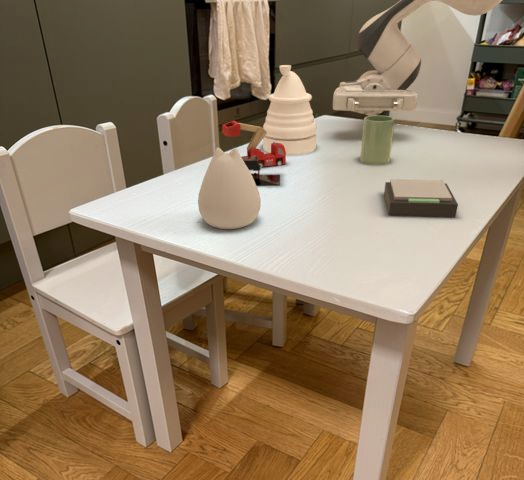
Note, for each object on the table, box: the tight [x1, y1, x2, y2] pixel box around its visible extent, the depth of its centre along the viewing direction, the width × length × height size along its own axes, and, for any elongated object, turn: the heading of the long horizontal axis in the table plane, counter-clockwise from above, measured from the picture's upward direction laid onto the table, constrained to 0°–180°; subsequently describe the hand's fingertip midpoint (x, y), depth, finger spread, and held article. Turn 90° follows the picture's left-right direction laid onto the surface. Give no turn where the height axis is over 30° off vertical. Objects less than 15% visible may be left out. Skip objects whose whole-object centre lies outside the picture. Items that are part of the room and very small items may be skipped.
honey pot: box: [262, 64, 318, 156], centre depth 117 cm, size 13×13×18 cm
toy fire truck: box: [221, 120, 287, 169], centre depth 107 cm, size 3×14×10 cm, turn 111°
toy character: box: [197, 147, 262, 230], centre depth 81 cm, size 10×10×12 cm
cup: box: [359, 114, 396, 166], centre depth 109 cm, size 6×6×9 cm
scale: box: [383, 178, 459, 219], centre depth 88 cm, size 11×11×3 cm
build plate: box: [242, 157, 281, 187], centre depth 101 cm, size 12×7×5 cm, turn 89°
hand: (375, 106), depth 117 cm, fingers open, 8 cm apart
